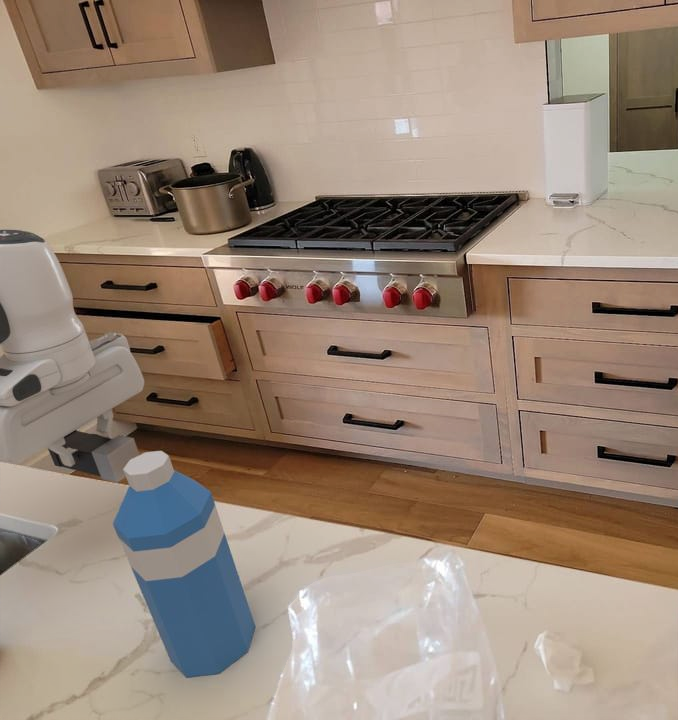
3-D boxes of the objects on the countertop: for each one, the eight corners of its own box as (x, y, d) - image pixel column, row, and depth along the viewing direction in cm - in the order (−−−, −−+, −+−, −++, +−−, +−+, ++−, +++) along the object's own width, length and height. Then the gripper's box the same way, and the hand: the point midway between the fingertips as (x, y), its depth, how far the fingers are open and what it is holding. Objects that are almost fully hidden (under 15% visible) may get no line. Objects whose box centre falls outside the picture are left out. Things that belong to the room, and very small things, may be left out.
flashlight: (53, 466, 91) (42, 440, 89) (80, 449, 95) (70, 424, 93) (117, 483, 87) (106, 455, 85) (143, 464, 90) (133, 438, 88)
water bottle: (221, 687, 72) (148, 498, 61) (151, 668, 75) (70, 485, 64) (272, 619, 80) (216, 441, 68) (207, 604, 83) (143, 431, 72)
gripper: (105, 324, 94) (134, 410, 100) (-47, 394, 77) (0, 492, 83) (138, 328, 91) (166, 417, 97) (-11, 402, 74) (34, 503, 81)
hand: (88, 452), depth 90 cm, fingers closed on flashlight, 3 cm apart
